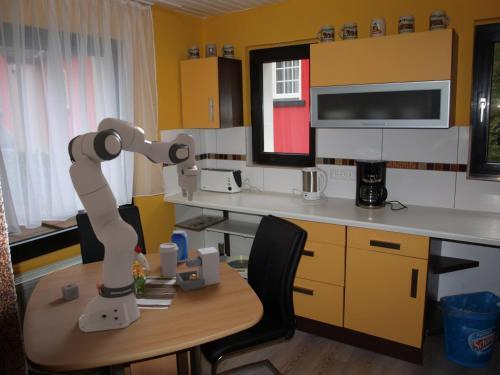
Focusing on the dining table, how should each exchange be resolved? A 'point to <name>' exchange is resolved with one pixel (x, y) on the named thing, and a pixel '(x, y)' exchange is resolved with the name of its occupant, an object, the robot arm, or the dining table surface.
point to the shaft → (198, 261)
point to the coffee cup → (168, 259)
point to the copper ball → (192, 277)
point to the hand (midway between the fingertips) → (187, 198)
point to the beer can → (180, 244)
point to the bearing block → (209, 265)
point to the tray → (189, 285)
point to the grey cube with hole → (70, 292)
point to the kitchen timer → (140, 258)
